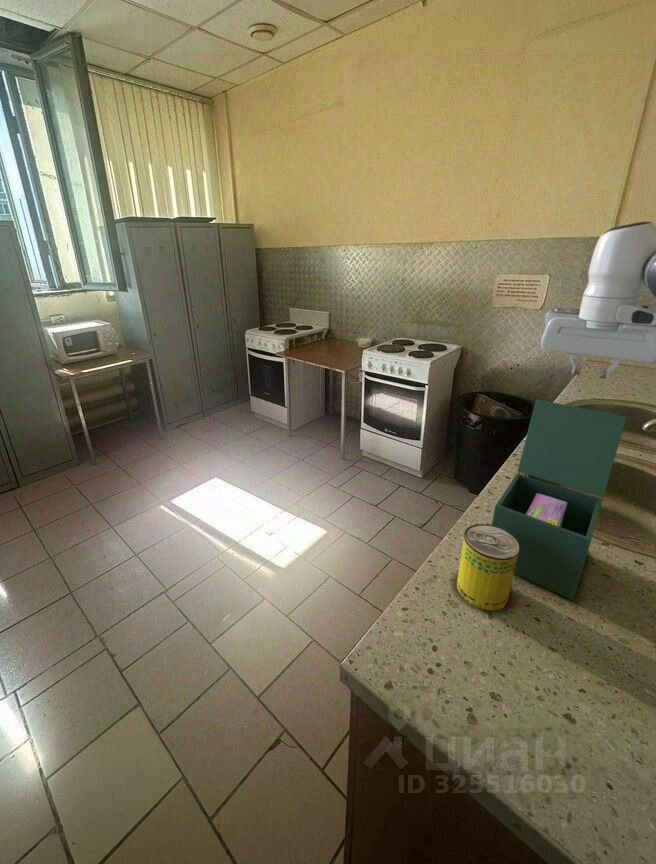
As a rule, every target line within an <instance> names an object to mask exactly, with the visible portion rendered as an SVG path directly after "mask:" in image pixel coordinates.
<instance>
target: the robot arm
mask: <svg viewBox="0 0 656 864" xmlns="http://www.w3.org/2000/svg"><path fill="white" fill-rule="evenodd" d="M587 275H588V282H587V286H586V288H585V290H584V291H583V294H582V298H581V303H580V307H579V308H563V307H555V308H553V309H551V310H549V311H548V312H547V313H545V316H544V322H543V323H544V326H545V328H544V331H543V333H542V337H541V340H540V347H541V349H542V350H543V351H550V352H557V353H565V354H569V355H568V361H569V362H570V364H571V366H572V369H571V375H581V372H582V369H583V365H580V364H578V362H577V358H578V357H579V355H580V356H590V357H599V358H606V359H610V360H611V361H610V364H611V365H610V366H609V367H607V368H602V369H601V373H600V376H599V379H603V380H609V378H610V376H611V372H613V371H614V370H615V369H616V368H617V367H618V366H619V365H620V364H621V361H622V360H623V361H629V362H630V361H631V362H637V363H647V364H654V363H656V308H655V307H652V306H648V305H646V304H642V303H640V302H638V301H639V297H640V295H641V293H642V292H651V294H652V295H653V296H654V297H656V224H654V222H652V221H640V222H634V223H628V224H624V225H623V224H622V225H618V226H614V227H611V228H610V229H607V230H606V231H605V232H604V233H603V234H601V235H600V237H599V238H598V240H597V242H596V244H595V248H594V250H593V253H592V256H591V261H590V264H589V268H588V272H587Z"/></svg>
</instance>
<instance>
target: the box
mask: <svg viewBox="0 0 656 864" xmlns="http://www.w3.org/2000/svg"><path fill="white" fill-rule="evenodd" d="M566 506H567V502H564V501H561V500H558V499H555V498H552V497H549V496H546V495H542V494H539V493H537V494H536V496H535V498H534V500H533V502H532V504H531V505H530V507H529V509H528V511H527V513H526V515H528V516H531V517H534V518H537V519H539V520H542V521H545V522H548V523H550V524H553V525H556V526H559V527H562V523H563V519H564V515H565V511H566Z"/></svg>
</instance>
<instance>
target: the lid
mask: <svg viewBox="0 0 656 864" xmlns="http://www.w3.org/2000/svg"><path fill="white" fill-rule="evenodd" d="M627 418H628V417H627V416H624V415H619V414H614V413H610V412H603V411H600V410H599V411H598V410H594V409H588V408H583V407H577V406H573V405H568V404H562V403H557V402H553V401H546V400H541V399H536V400H535V404H534V407H533V411H532V415H531V418H530V421H529V422H530V423H529V425H528V430H527V433H526V437H525V440H524V445H523V448H522V451H521V455H520V460H519V463H518V467H517V471H516V472H517V473H519V474H523V475H526V476H529V477H533V478H536V479H539V480H542V481H546V482H549V483H552V484H557V485H559V486H560V485H561V486H562V487H563V486H564V487H566V488H569V489H572V490H575V491H579V492H582V493H585V494H589V495H592V496H595V497H600V498H604V496H605V494H606V493H605V492H606V489H607V486H608V483H609V480H610V477H611V473H612V469H613V466H614V463H615V459H616V456H617V452H618V448H619V446H620V442H621V438H622V436H623V435H622V434H623V432H624V429H625V425H626V421H627Z"/></svg>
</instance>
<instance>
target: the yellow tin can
mask: <svg viewBox="0 0 656 864" xmlns="http://www.w3.org/2000/svg"><path fill="white" fill-rule="evenodd" d="M462 541H463V542H462V548H461V553H460V560H459V566H458V567H459V568H458V573H457V580H456V581H457V582H456V587H457V591H458V592H459V595H460V596H461V597H462V598H463V599H464V600H465V601H466V602H467V603H469V604H470V605H472V606H474V607H476V608H478V609H482V610H484V611H499V610H501V609H504V607H505V606H506V605H508V602H509V597H510V593H511V589H512V584H513V579H514V575H515V574H514V571H515V566H516V562H517V557H518V553H519V544H518V542H517V540H516V539H515V538H514V537H513V536H512V535H511V534H509V533H508V532H506V531H505V530H503V529H501V528H498V527H495V526H492V524H485V523H478V524H477V523H476V524H473V525H470V526H468V527H467V528H466V529H465V531H464V535H463V540H462Z"/></svg>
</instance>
